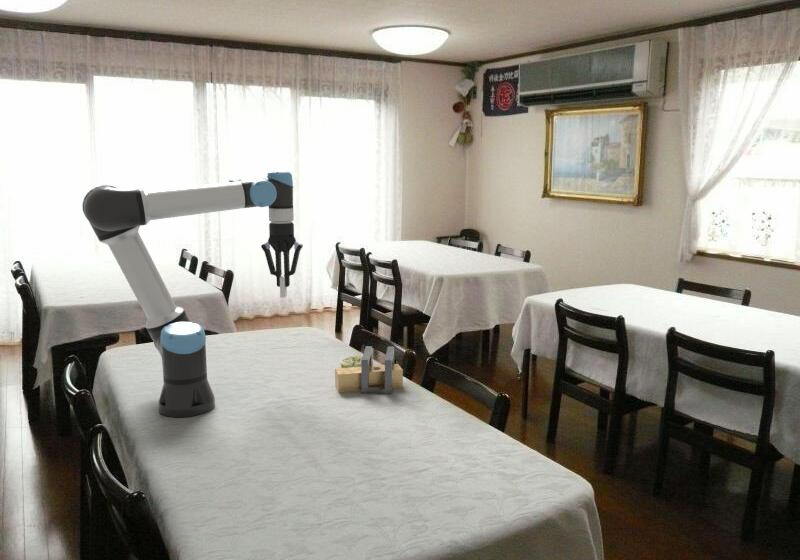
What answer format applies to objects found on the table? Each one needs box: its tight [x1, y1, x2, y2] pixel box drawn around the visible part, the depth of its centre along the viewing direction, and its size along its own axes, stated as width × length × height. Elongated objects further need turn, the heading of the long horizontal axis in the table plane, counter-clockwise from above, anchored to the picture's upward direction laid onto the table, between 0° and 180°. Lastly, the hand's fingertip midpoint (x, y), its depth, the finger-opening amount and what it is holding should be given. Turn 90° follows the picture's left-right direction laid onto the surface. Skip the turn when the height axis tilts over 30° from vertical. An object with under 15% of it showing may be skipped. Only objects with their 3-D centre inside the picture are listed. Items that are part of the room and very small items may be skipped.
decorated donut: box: [340, 355, 374, 368], centre depth 219 cm, size 10×11×4 cm
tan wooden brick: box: [334, 363, 404, 394], centre depth 201 cm, size 20×6×6 cm, turn 105°
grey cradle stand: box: [361, 345, 395, 395], centre depth 202 cm, size 14×9×10 cm, turn 178°
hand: (283, 296), depth 206 cm, fingers closed
